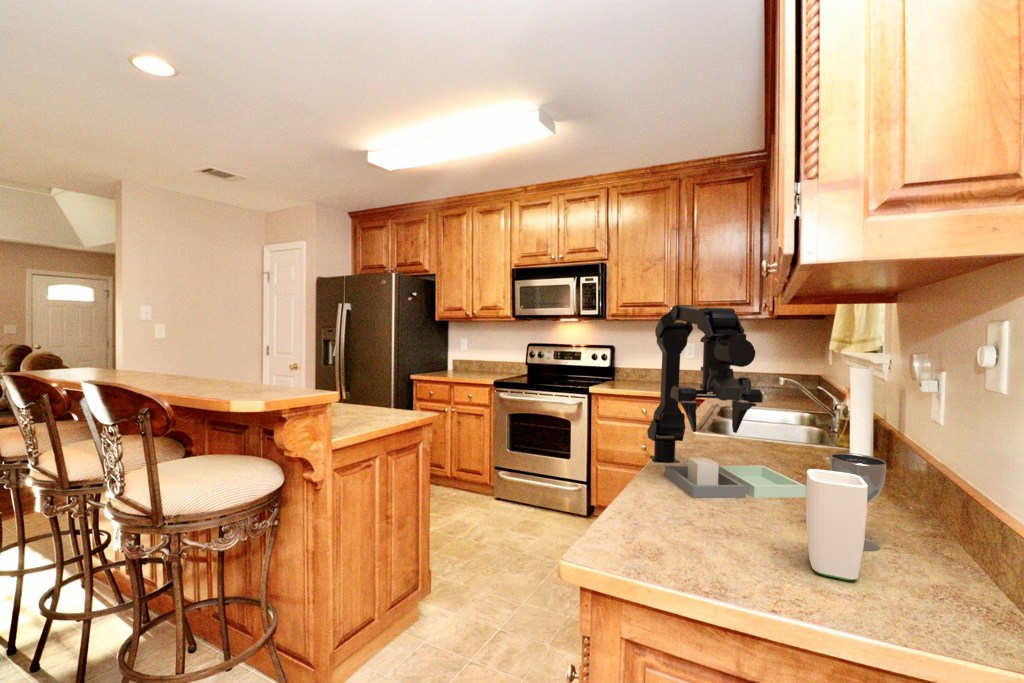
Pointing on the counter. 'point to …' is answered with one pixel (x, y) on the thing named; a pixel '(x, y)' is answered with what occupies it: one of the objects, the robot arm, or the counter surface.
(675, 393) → the robot arm
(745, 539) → the counter surface
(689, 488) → the bin
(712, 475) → the stone block
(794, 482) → the bin
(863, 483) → the cup
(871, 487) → the wine glass
